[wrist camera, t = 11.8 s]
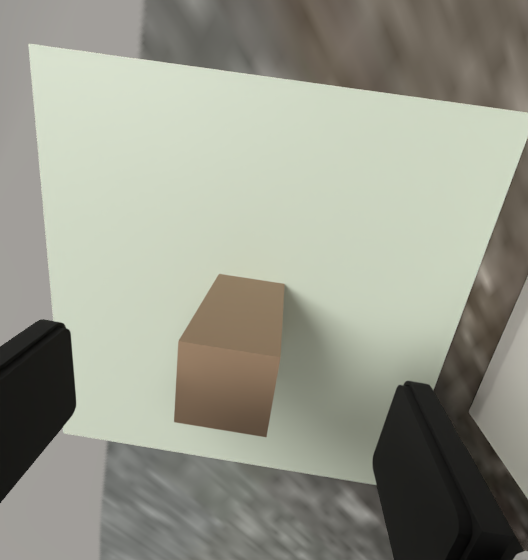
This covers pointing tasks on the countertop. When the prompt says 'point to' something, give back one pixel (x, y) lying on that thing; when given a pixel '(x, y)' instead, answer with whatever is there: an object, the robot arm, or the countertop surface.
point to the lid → (257, 251)
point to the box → (508, 395)
